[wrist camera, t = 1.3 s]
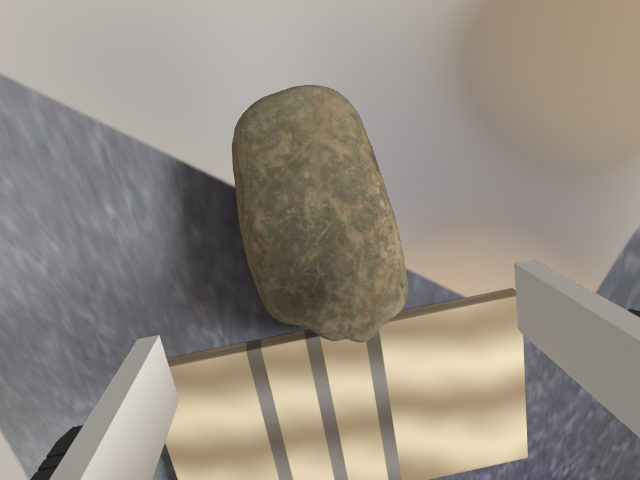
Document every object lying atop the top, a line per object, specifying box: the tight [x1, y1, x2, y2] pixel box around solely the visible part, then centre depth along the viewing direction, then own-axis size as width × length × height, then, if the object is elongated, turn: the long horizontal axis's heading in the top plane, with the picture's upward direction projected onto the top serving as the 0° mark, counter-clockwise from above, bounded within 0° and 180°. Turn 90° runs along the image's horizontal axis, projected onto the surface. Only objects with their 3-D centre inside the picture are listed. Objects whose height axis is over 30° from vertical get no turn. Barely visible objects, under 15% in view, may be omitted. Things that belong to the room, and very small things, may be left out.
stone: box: [232, 85, 408, 343], centre depth 26 cm, size 9×14×10 cm, turn 12°
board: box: [165, 288, 528, 480], centre depth 32 cm, size 14×26×1 cm, turn 100°
